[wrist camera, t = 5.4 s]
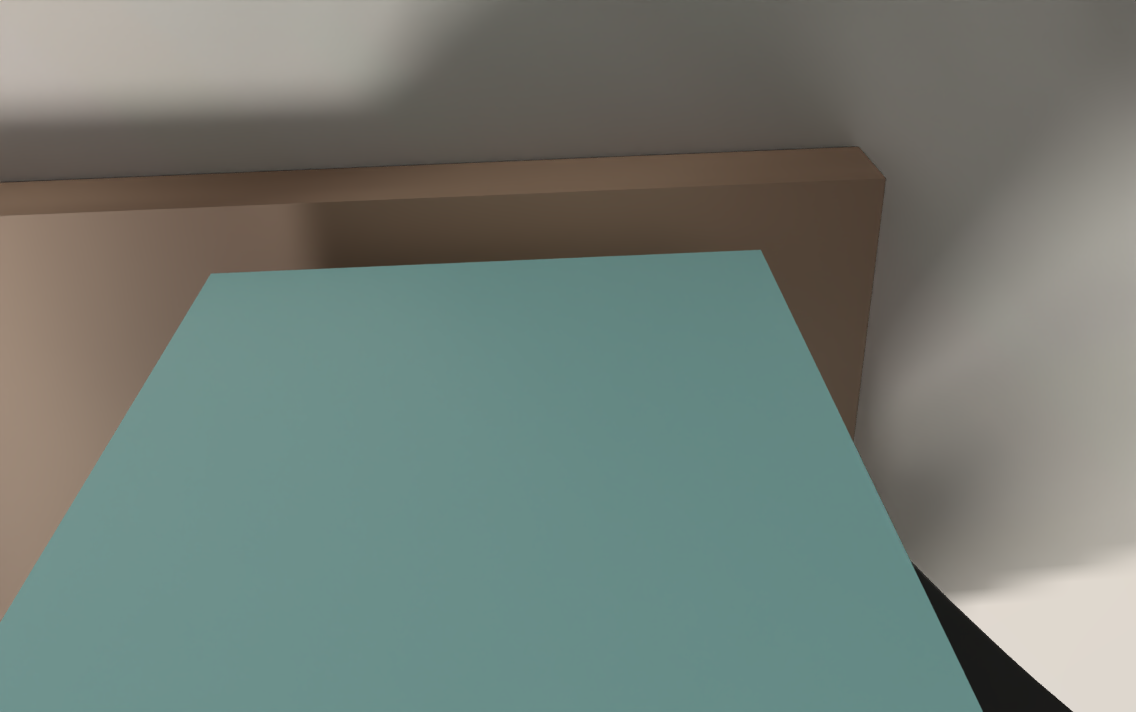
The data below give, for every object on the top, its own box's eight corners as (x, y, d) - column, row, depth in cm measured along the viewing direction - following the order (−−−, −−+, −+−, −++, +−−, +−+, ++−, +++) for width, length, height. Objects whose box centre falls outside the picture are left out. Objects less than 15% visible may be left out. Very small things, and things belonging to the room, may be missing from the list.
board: (-133, 896, 17) (-168, 957, 16) (-534, 205, 11) (-622, 241, 10) (783, 848, 18) (796, 905, 17) (858, 146, 12) (886, 178, 11)
